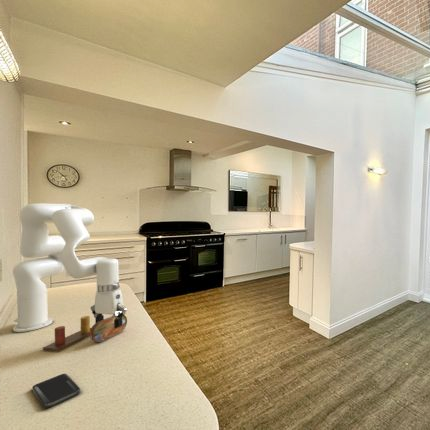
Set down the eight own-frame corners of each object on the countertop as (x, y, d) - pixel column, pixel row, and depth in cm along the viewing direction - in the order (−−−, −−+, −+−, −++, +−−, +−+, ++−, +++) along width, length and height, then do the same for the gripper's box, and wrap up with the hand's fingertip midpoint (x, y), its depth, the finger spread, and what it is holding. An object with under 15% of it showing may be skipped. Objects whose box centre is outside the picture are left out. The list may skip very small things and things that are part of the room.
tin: (94, 346, 108) (93, 325, 108) (87, 345, 109) (87, 325, 108) (127, 329, 123) (127, 311, 122) (122, 328, 123) (122, 310, 123)
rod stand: (42, 350, 104) (42, 331, 104) (86, 330, 121) (86, 313, 121) (57, 351, 103) (57, 332, 103) (99, 331, 120) (99, 314, 120)
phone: (45, 406, 74) (31, 385, 82) (45, 409, 74) (31, 389, 82) (81, 389, 81) (65, 372, 89) (81, 393, 81) (65, 375, 89)
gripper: (133, 285, 117) (133, 323, 118) (99, 283, 120) (100, 321, 120) (117, 291, 110) (118, 331, 110) (81, 289, 112) (83, 328, 113)
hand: (109, 326), depth 115 cm, fingers open, 8 cm apart
